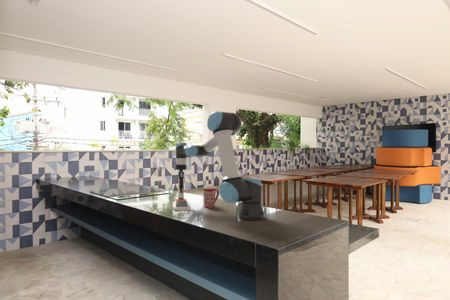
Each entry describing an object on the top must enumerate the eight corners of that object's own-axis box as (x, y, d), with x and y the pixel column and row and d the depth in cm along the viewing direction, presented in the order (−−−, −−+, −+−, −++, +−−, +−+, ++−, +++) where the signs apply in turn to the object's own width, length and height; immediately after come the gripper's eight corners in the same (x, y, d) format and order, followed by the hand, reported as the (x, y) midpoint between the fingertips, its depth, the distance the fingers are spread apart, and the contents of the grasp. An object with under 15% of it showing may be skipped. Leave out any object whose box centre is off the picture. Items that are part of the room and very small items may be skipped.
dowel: (183, 198, 216) (183, 181, 216) (183, 199, 212) (183, 182, 212) (178, 198, 215) (178, 182, 215) (178, 199, 211) (178, 182, 211)
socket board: (188, 203, 220) (188, 198, 220) (190, 209, 198) (190, 203, 198) (173, 204, 218) (173, 198, 218) (173, 210, 196) (173, 204, 196)
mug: (208, 208, 202) (208, 188, 202) (200, 206, 209) (200, 187, 209) (222, 206, 210) (222, 187, 210) (214, 204, 217) (214, 186, 217)
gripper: (175, 163, 221) (175, 195, 221) (176, 164, 204) (175, 199, 205) (185, 163, 222) (185, 194, 223) (187, 164, 206) (186, 198, 206)
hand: (181, 196), depth 214 cm, fingers closed on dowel, 4 cm apart
